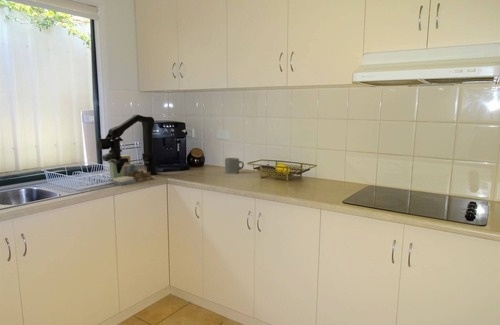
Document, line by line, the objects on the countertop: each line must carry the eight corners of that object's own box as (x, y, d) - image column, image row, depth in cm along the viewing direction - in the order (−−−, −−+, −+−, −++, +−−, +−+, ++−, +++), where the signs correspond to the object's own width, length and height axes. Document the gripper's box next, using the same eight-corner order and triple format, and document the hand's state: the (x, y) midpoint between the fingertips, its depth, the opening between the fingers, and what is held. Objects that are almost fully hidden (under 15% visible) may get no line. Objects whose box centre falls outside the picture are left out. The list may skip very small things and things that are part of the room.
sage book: (120, 176, 222) (119, 161, 221) (123, 177, 220) (123, 161, 218) (110, 178, 217) (109, 162, 215) (113, 178, 214) (112, 163, 213)
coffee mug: (223, 173, 243) (223, 159, 241) (227, 170, 253) (226, 157, 251) (242, 173, 241) (242, 159, 239) (244, 171, 250) (244, 158, 249)
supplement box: (120, 175, 234) (119, 156, 232) (116, 174, 237) (115, 155, 235) (131, 173, 240) (130, 155, 238) (127, 172, 243) (126, 154, 241)
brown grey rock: (134, 175, 233) (134, 163, 232) (152, 179, 220) (152, 166, 219) (120, 177, 224) (119, 165, 223) (138, 181, 212) (137, 168, 211)
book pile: (127, 180, 215) (127, 175, 214) (135, 182, 209) (135, 177, 209) (111, 183, 206) (111, 178, 206) (119, 185, 201) (119, 179, 200)
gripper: (95, 148, 215) (97, 173, 217) (111, 150, 203) (112, 176, 206) (112, 147, 223) (113, 170, 226) (128, 149, 212) (129, 173, 214)
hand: (116, 172), depth 218 cm, fingers closed on sage book, 4 cm apart
